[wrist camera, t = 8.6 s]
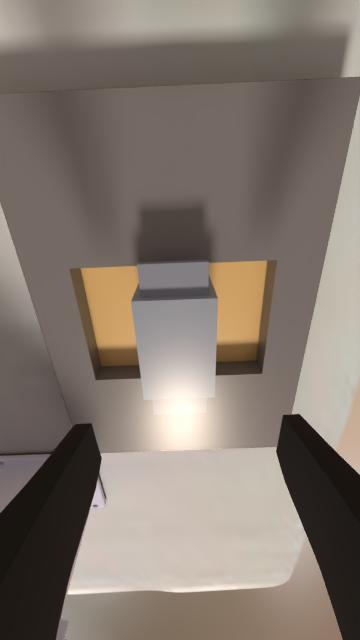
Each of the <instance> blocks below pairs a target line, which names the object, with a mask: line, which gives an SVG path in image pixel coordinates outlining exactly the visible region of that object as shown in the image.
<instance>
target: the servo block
mask: <svg viewBox="0 0 360 640" xmlns="http://www.w3.org/2000/svg"><path fill="white" fill-rule="evenodd" d="M137 269H138V278H139V283H138V286H137V288H136V291H135V293H134V295H133V298H132V300H131V306H132V313H133V321H134V328H135V336H136V344H137V351H138V359H139V366H140V374H141V382H142V389H143V397H144V400H152V403H153V412H154V415H162V414H190V413H207V398H212V397H215V376H216V345H217V315H218V297H217V294H216V292H215V289H214V286H213V284H212V281H211V279H210V276H209V261H208V260H184V261H158V262H138V264H137Z"/></svg>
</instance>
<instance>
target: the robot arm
mask: <svg viewBox="0 0 360 640" xmlns="http://www.w3.org/2000/svg"><path fill="white" fill-rule="evenodd" d="M276 452H277V456H278V459H279V463H280V467H281V470H282V473H283V477H284V480H285V483H286V485H287V488H288V490H289V493H290V495H291V498H292V500H293V503H294V505H295V508H296V510H297V512H298V515H299V517H300V520H301V522H302V525H303V527H304V530H305V532H306V534H307V537H308V539H309V542H310V544H311V547H312V549H313V552H314V554H315V557H316V559H317V562H318V564H319V567H320V570H321V573H322V576H323V579H324V582H325V585H326V588H327V591H328V594H329V597H330V600H331V603H332V607H333V610H334V613H335V616H336V619H337V622H338V626H339V629H340V632H341V635H342V638H343V640H360V475H359V474H358V473H357V472H356V471H355V470H354V469H353V468H352V467H351V466H350V465H349V464H348V463H347V462H346V461H345V460H344V459H343V458H342V457H341V456H339V454H338V453H337V452H336V451H335V450H334V449H333V448H332V447H331V446H330V445H329V444H328V443H327V442H326V441H325V440H324V439H323V438H322V437H321V436H320V435H319V434H318V433H317V432H316V431H315V430H314V429H313V428H312V427H311V426H310V425H309V424H308V423H307V421H306V420H305V419H304V418H303V417H302V416H301V415H300V414H293V415H283V417H282V423H281V428H280V434H279V439H278V445H277V450H276ZM101 459H102V458H101V455H100V451H99V448H98V444H97V441H96V437H95V433H94V430H93V426H92V423H85V424H75V425H74V426H73V427H72V429H71V430H70V431H69V432H68V434H67V435H66V436H65V437H64V439H63V440H62V441H61V442H60V444H59V445H58V446H57V447H56V449H55V450H54V451H53V452H52V454H38V455H10V456H0V640H66V639H64V638H65V633H66V630H67V626H68V621H67V620H63V619H61V614H62V611H63V607H64V603H65V600H66V596H67V593H68V589H69V585H70V582H71V578H72V574H73V570H74V567H75V563H76V559H77V556H78V552H79V548H80V545H81V541H82V537H83V534H84V530H85V526H86V523H87V519H88V515H89V512H90V509H98V508H104V507H105V505H106V500H105V496H104V493H103V490H102V486H101V483H100V479H99V470H100V465H101Z"/></svg>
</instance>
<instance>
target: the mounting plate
mask: <svg viewBox="0 0 360 640" xmlns="http://www.w3.org/2000/svg"><path fill="white" fill-rule="evenodd" d="M359 96H360V77H346V78H324V79H303V80H281V81H259V82H238V83H216V84H194V85H173V86H151V87H130V88H108V89H86V90H65V91H43V92H22V93H0V203H1V206H2V209H3V212H4V215H5V218H6V221H7V224H8V228H9V231H10V234H11V237H12V240H13V243H14V246H15V249H16V253H17V256H18V259H19V262H20V265H21V268H22V271H23V274H24V277H25V281H26V284H27V287H28V290H29V293H30V296H31V299H32V302H33V306H34V309H35V312H36V315H37V318H38V321H39V324H40V327H41V330H42V334H43V337H44V340H45V343H46V346H47V349H48V352H49V355H50V359H51V362H52V365H53V368H54V371H55V374H56V377H57V380H58V384H59V387H60V390H61V393H62V396H63V399H64V402H65V405H66V408H67V412H68V415H69V418H70V421H71V424H72V427H73V426H74V425H75V424H85V423H92V426H93V430H94V433H95V437H96V441H97V444H98V448H99V451H100V453H118V452H146V451H174V450H202V449H230V448H258V447H277V445H278V439H279V434H280V428H281V423H282V417H283V415H291V414H292V409H293V404H294V400H295V395H296V390H297V386H298V381H299V376H300V372H301V367H302V362H303V358H304V353H305V348H306V344H307V339H308V334H309V330H310V325H311V320H312V316H313V311H314V306H315V302H316V297H317V292H318V288H319V283H320V278H321V274H322V269H323V264H324V260H325V255H326V250H327V246H328V241H329V236H330V232H331V227H332V222H333V218H334V213H335V208H336V204H337V199H338V194H339V190H340V185H341V180H342V176H343V171H344V166H345V162H346V157H347V152H348V147H349V143H350V138H351V133H352V129H353V124H354V119H355V115H356V110H357V105H358V101H359ZM184 260H208V261H209V276H210V279H211V281H212V284H213V286H214V289H215V292H216V294H217V297H218V315H217V345H216V376H215V397H212V398H207V413H190V414H162V415H154V412H153V403H152V400H144V397H143V389H142V382H141V374H140V366H139V359H138V351H137V344H136V336H135V328H134V321H133V313H132V306H131V300H132V298H133V295H134V293H135V291H136V288H137V286H138V283H139V278H138V269H137V264H138V262H158V261H184Z"/></svg>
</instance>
